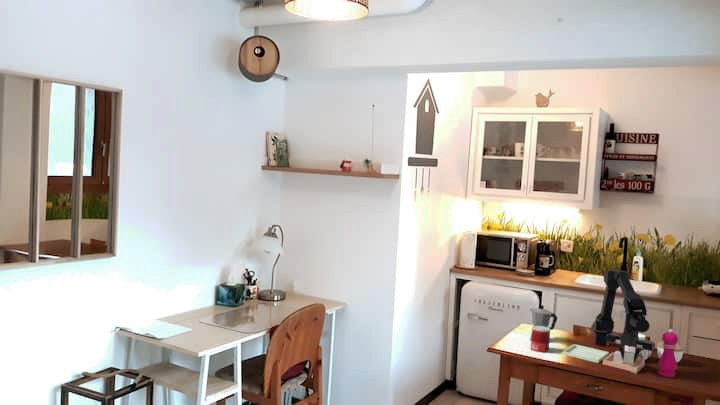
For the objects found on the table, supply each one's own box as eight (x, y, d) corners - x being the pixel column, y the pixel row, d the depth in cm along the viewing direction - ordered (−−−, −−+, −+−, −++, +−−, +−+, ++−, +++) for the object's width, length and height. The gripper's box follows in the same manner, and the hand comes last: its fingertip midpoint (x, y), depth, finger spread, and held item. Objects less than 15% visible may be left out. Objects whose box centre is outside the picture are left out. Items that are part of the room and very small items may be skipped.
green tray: (573, 347, 287) (574, 344, 287) (608, 355, 278) (608, 352, 277) (562, 355, 275) (562, 351, 275) (597, 364, 265) (598, 360, 265)
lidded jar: (679, 360, 277) (681, 340, 276) (684, 367, 267) (686, 347, 266) (654, 356, 280) (656, 337, 280) (657, 363, 270) (659, 343, 270)
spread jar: (623, 360, 272) (625, 335, 271) (622, 353, 283) (624, 329, 282) (652, 364, 268) (655, 339, 267) (649, 357, 279) (652, 333, 278)
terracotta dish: (611, 358, 275) (612, 352, 275) (644, 365, 266) (644, 360, 266) (602, 365, 264) (603, 359, 264) (636, 373, 255) (636, 368, 255)
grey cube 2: (624, 359, 264) (624, 351, 264) (633, 361, 262) (634, 352, 262) (623, 362, 260) (624, 353, 260) (633, 364, 259) (634, 355, 258)
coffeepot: (522, 338, 298) (525, 303, 296) (534, 336, 303) (536, 301, 302) (548, 347, 285) (551, 310, 284) (560, 344, 291) (563, 308, 290)
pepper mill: (653, 371, 259) (658, 326, 258) (669, 371, 260) (673, 326, 258) (663, 377, 252) (668, 331, 251) (679, 378, 253) (684, 331, 251)
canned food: (549, 354, 275) (551, 331, 274) (531, 352, 277) (533, 329, 276) (547, 349, 282) (549, 326, 282) (529, 347, 284) (531, 324, 283)
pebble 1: (615, 359, 271) (616, 350, 271) (625, 361, 269) (625, 352, 268) (613, 361, 268) (614, 352, 268) (622, 363, 266) (623, 355, 265)
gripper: (604, 324, 259) (601, 359, 261) (650, 334, 248) (647, 370, 249) (611, 319, 268) (608, 353, 269) (656, 329, 257) (653, 364, 258)
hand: (628, 360), depth 261 cm, fingers closed on grey cube 2, 4 cm apart
